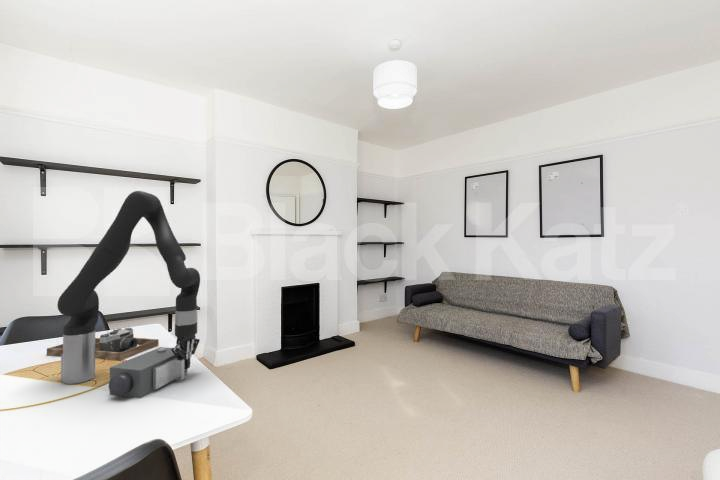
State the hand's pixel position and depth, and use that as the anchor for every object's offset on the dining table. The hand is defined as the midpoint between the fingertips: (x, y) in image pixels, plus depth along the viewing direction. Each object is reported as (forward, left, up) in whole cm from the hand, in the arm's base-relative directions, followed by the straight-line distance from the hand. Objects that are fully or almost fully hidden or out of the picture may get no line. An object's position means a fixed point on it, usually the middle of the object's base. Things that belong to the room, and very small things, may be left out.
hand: (186, 368), depth 129 cm
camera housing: (-9, -8, -3) cm, 13 cm away
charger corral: (-69, +17, -3) cm, 71 cm away
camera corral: (-47, +20, -3) cm, 51 cm away
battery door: (0, -8, -2) cm, 8 cm away
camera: (-49, +20, -4) cm, 53 cm away
